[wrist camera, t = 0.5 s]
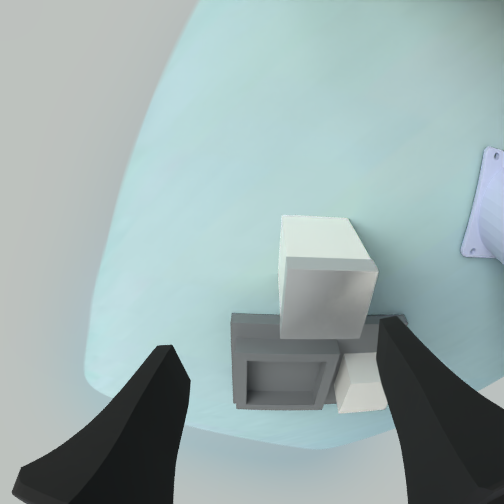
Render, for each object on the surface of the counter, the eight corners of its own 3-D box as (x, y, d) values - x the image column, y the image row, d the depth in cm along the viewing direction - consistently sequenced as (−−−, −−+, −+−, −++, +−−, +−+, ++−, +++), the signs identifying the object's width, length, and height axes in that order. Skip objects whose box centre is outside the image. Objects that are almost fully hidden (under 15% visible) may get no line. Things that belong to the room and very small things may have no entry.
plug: (348, 217, 18) (378, 270, 13) (338, 274, 20) (359, 338, 15) (280, 213, 18) (287, 268, 13) (277, 273, 20) (280, 338, 15)
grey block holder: (403, 314, 22) (421, 351, 18) (370, 392, 27) (378, 426, 23) (231, 313, 22) (226, 354, 19) (234, 394, 27) (230, 430, 23)
